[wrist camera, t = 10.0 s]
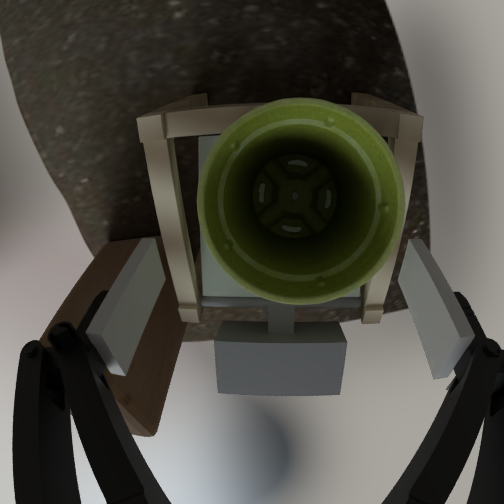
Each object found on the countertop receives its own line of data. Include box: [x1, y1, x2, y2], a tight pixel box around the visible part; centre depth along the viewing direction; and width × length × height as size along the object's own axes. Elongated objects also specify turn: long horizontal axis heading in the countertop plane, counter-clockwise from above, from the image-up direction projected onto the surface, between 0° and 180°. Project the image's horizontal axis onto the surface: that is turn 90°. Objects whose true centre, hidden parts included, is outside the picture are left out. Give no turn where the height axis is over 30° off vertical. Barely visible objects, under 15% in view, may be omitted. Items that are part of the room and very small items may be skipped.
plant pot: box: [197, 98, 405, 305], centre depth 17 cm, size 9×9×9 cm
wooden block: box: [39, 235, 188, 437], centre depth 29 cm, size 10×10×20 cm
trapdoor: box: [199, 135, 361, 396], centre depth 23 cm, size 20×12×4 cm, turn 3°
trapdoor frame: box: [136, 92, 423, 324], centre depth 24 cm, size 16×16×12 cm
